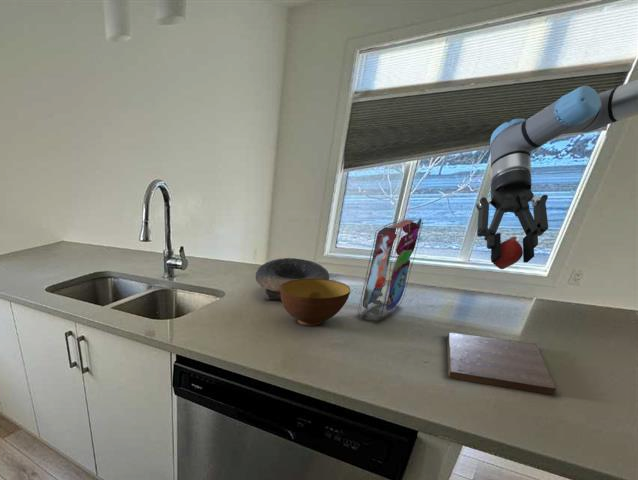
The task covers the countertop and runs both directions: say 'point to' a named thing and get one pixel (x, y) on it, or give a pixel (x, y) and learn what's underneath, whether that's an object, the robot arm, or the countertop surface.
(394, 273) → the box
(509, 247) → the onion
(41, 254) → the countertop surface
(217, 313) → the countertop surface
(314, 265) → the grinding stone
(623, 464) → the countertop surface
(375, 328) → the countertop surface
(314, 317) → the bowl
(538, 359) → the cutting board
